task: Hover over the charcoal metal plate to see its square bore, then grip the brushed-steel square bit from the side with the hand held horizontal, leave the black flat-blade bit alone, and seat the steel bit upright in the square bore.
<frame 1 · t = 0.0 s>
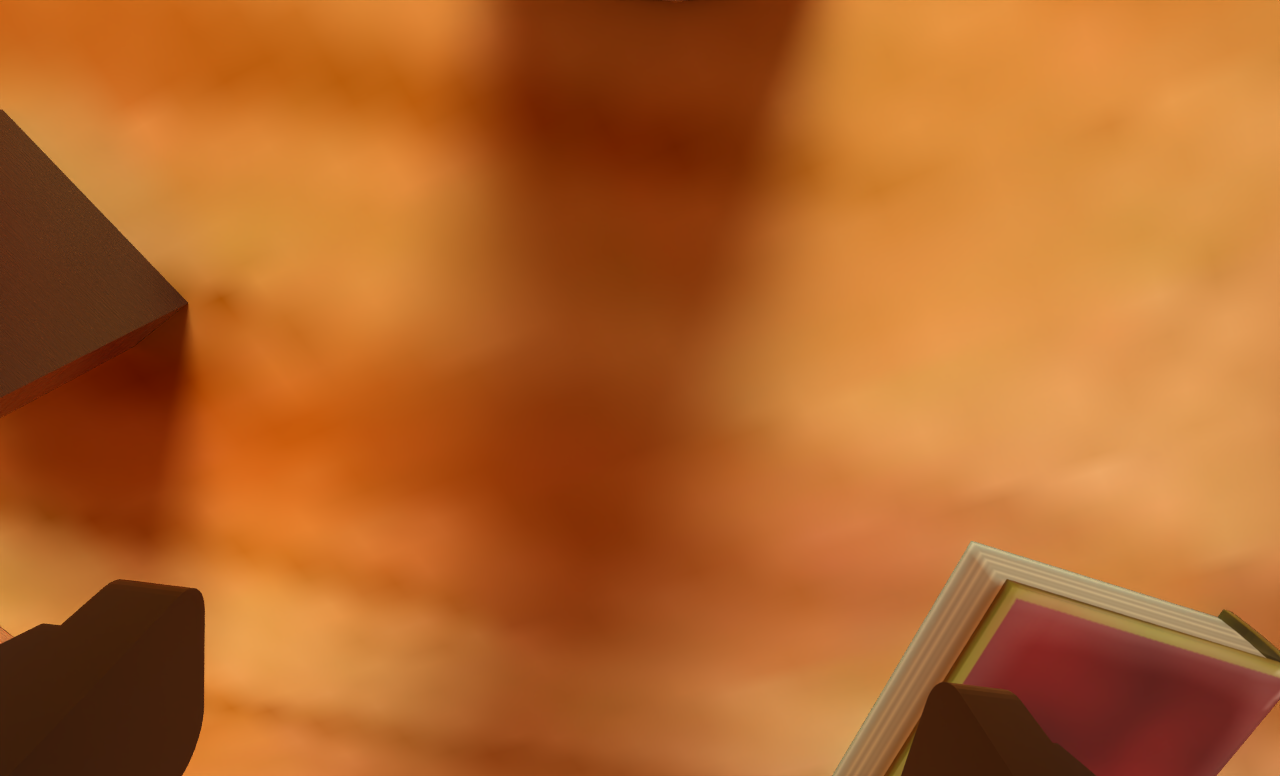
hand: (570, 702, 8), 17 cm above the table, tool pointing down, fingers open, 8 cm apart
hardcover book: (965, 756, 33), on the table
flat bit: (71, 235, 23), on the table
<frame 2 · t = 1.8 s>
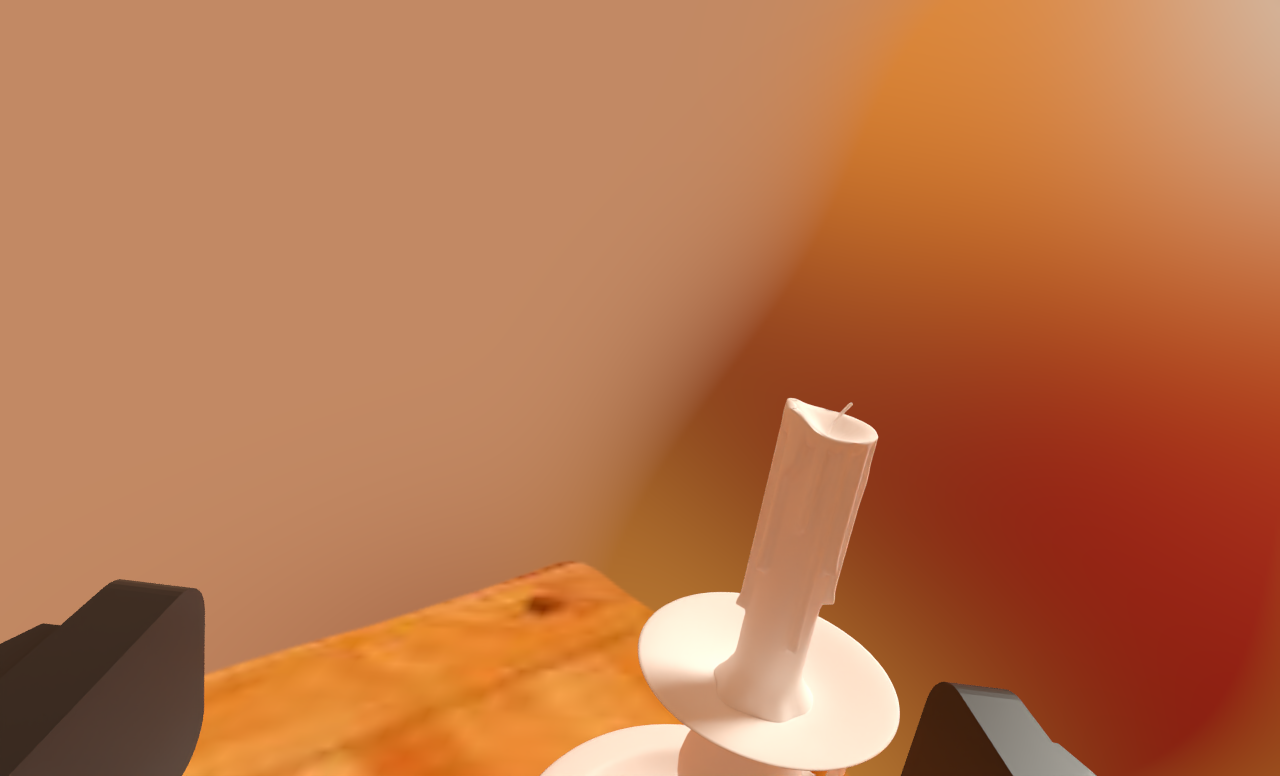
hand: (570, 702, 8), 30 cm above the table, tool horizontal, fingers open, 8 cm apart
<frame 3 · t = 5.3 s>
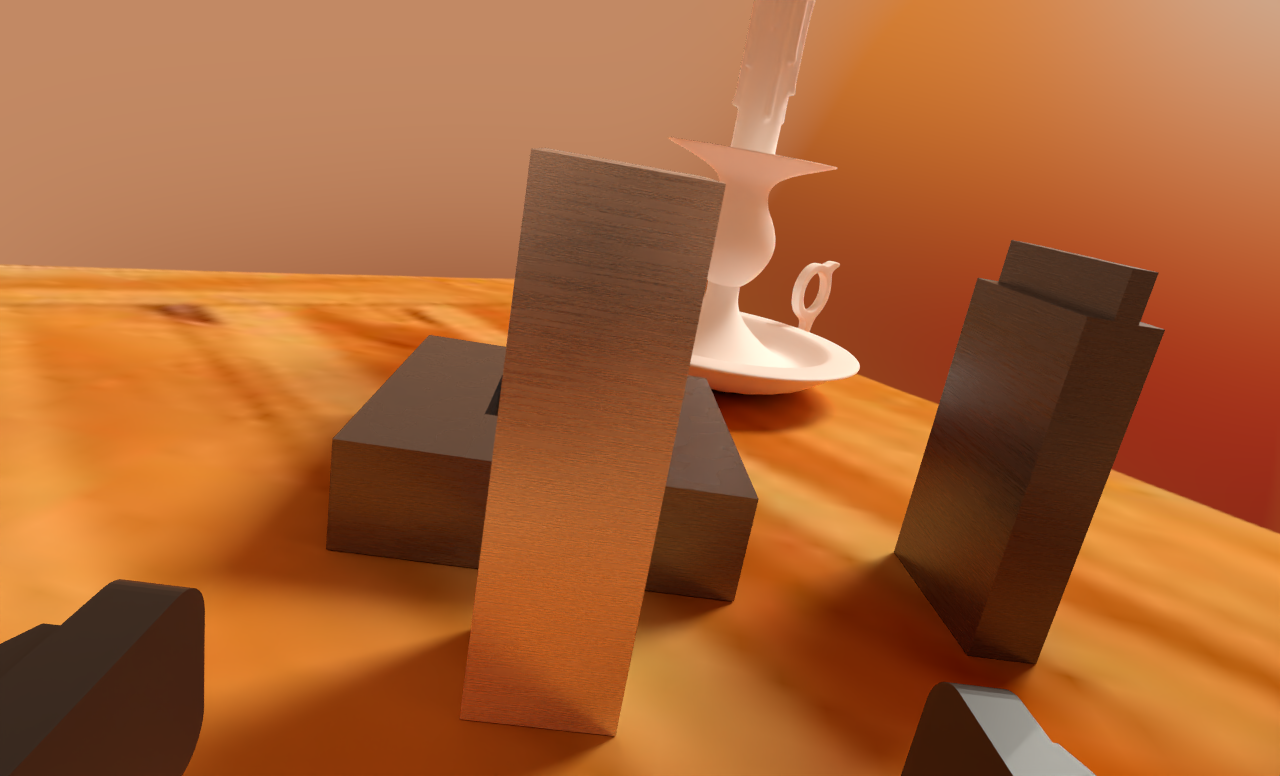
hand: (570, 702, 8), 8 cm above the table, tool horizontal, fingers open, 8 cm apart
bore plate: (549, 488, 33), on the table
square bit: (544, 675, 21), on the table
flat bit: (957, 601, 30), on the table
candlestick: (722, 374, 57), on the table
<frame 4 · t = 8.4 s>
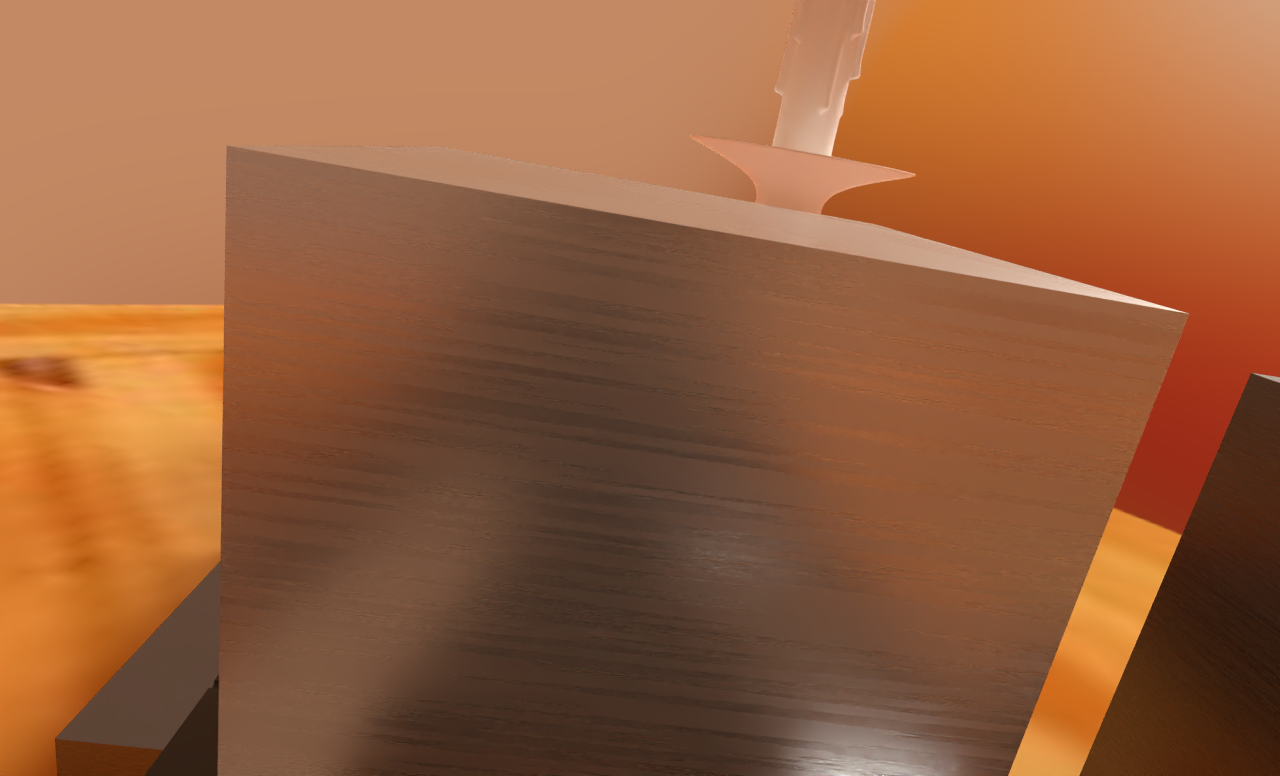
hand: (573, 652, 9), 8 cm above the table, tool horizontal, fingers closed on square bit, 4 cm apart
bore plate: (517, 694, 20), on the table
candlestick: (756, 438, 44), on the table
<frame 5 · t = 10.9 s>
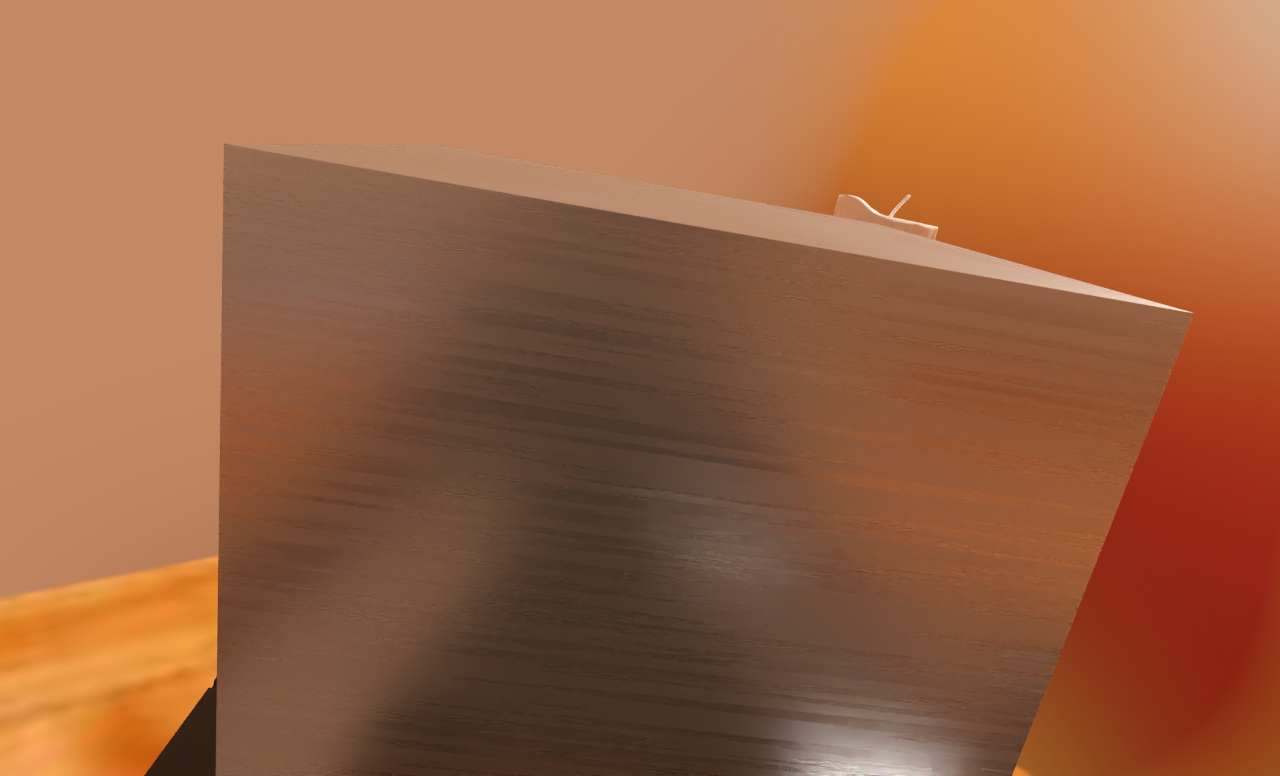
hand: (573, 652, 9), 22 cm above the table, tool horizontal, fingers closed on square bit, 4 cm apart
when the fingers open (10 cm above the table, at t = 13.2 s): square bit drops 1 cm, resting in bore plate.
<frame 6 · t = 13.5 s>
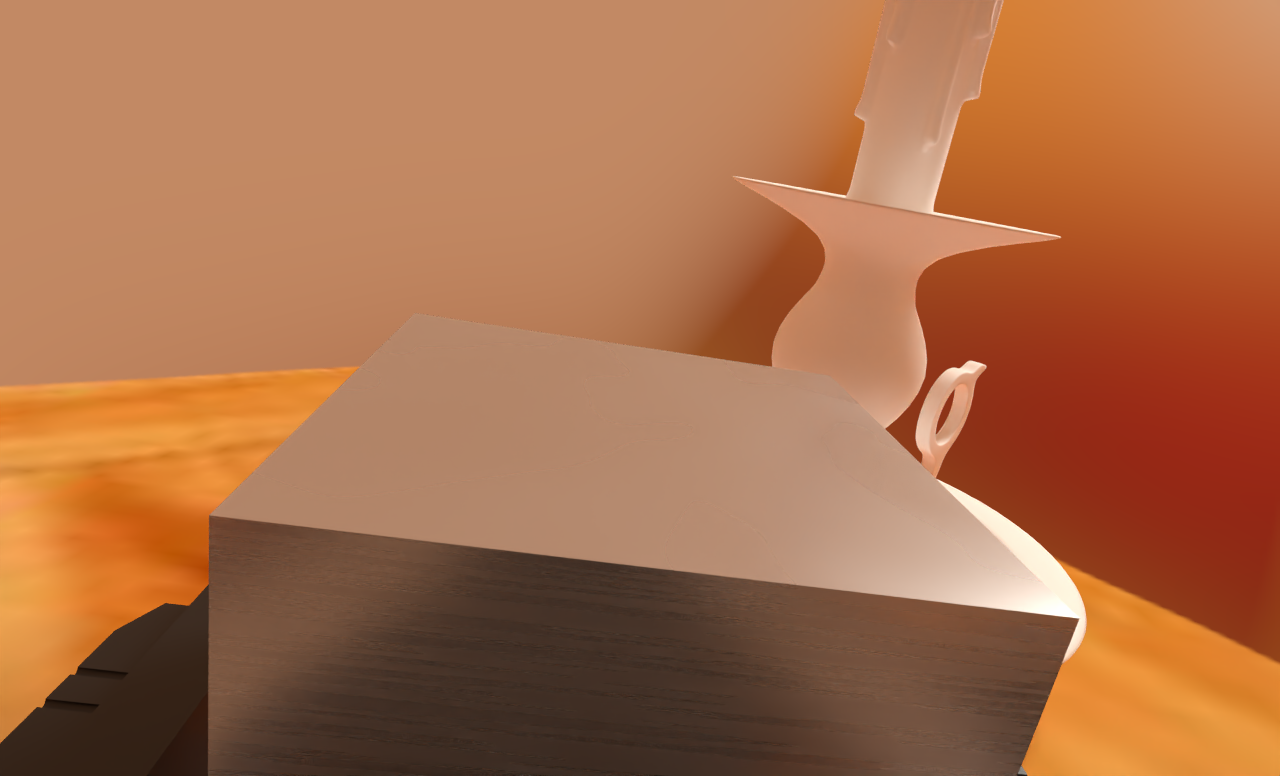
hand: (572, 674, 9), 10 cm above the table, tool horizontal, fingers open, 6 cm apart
candlestick: (814, 571, 33), on the table
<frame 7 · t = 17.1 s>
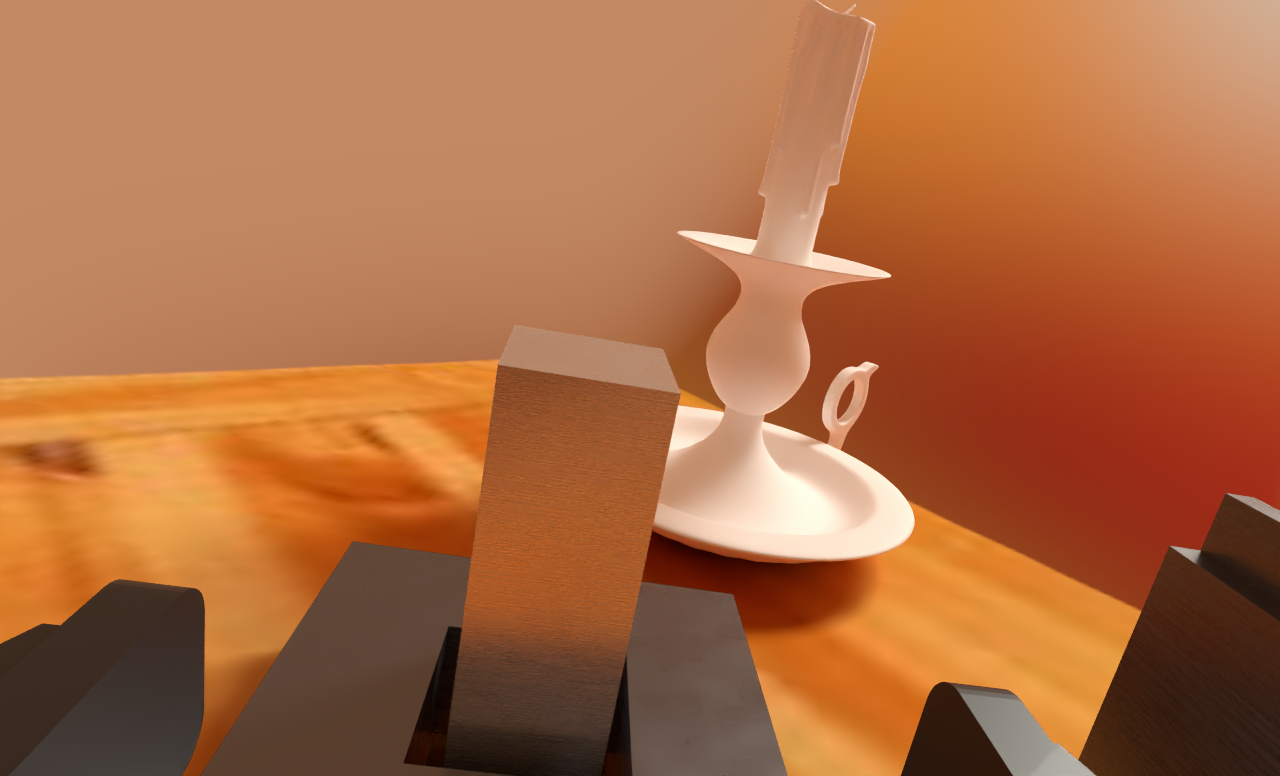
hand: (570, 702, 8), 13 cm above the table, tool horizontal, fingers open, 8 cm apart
candlestick: (740, 511, 46), on the table
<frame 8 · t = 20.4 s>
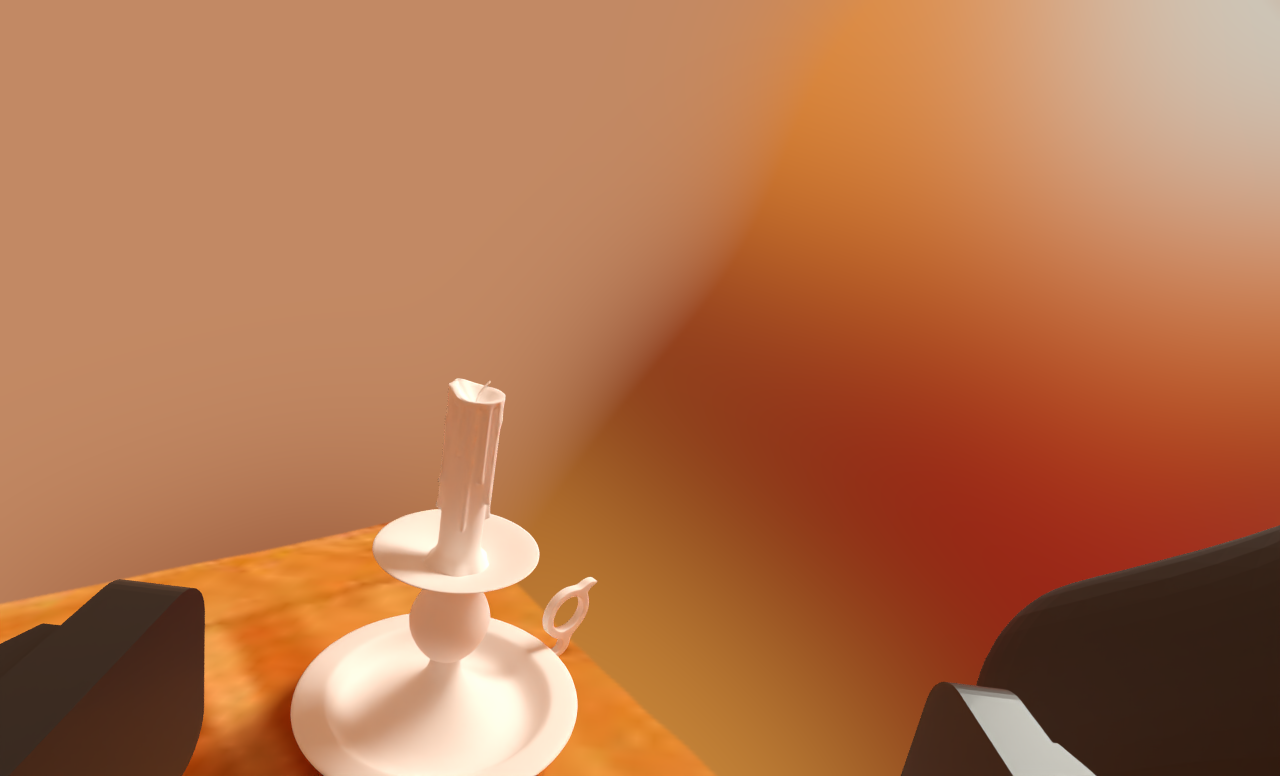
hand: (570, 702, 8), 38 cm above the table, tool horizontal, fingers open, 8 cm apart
candlestick: (460, 717, 60), on the table
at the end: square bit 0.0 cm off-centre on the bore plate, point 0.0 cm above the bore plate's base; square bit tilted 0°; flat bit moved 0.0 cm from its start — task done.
